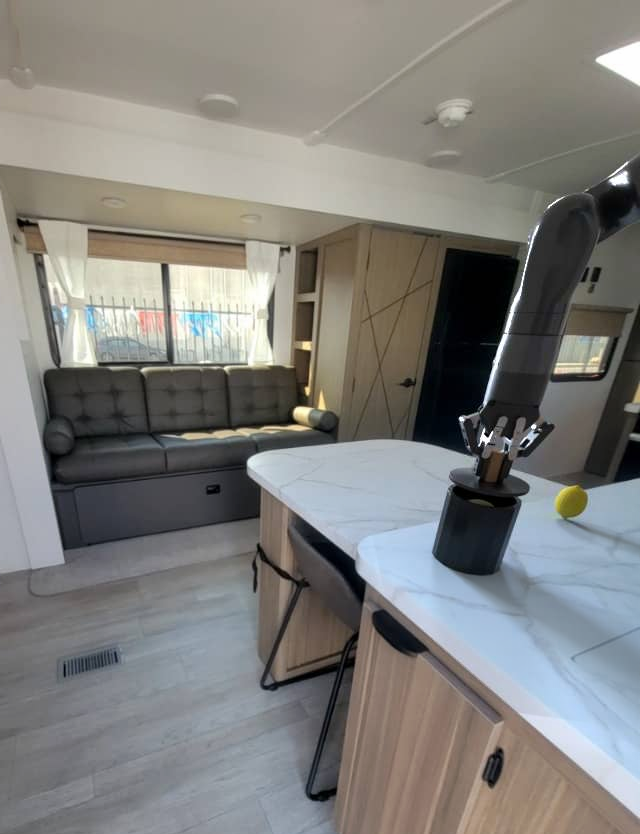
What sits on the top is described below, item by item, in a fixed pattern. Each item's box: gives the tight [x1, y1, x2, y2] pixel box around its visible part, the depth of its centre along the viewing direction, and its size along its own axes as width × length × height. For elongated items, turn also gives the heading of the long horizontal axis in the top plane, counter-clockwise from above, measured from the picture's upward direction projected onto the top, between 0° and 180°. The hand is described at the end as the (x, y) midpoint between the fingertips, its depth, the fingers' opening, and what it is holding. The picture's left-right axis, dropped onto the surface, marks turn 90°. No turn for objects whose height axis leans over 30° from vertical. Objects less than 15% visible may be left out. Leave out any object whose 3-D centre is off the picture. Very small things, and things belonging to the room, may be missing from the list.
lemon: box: [554, 484, 589, 520], centre depth 89 cm, size 6×6×8 cm
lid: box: [448, 447, 531, 498], centre depth 66 cm, size 12×12×6 cm
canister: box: [431, 483, 523, 577], centre depth 71 cm, size 11×11×13 cm
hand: (488, 478), depth 66 cm, fingers closed on lid, 2 cm apart
